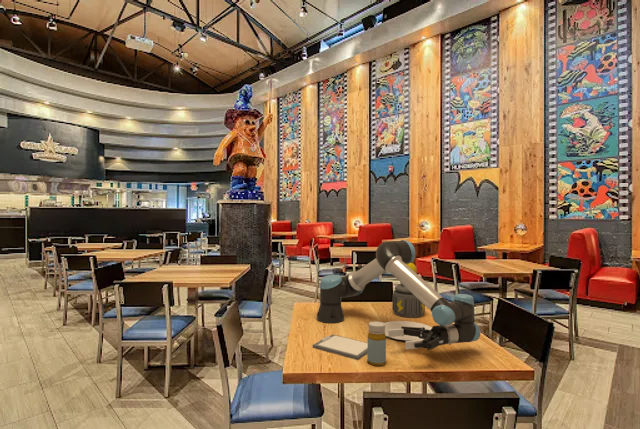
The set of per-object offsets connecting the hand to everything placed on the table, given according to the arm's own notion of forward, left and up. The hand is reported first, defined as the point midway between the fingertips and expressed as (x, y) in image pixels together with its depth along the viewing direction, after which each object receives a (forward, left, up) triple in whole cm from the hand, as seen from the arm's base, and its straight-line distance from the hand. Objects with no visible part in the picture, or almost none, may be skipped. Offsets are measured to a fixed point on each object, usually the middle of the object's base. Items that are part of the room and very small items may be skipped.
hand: (396, 339), depth 135 cm
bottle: (-6, -6, -9) cm, 12 cm away
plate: (-9, +35, -9) cm, 37 cm away
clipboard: (-24, 0, -8) cm, 25 cm away
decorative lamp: (-20, +67, -9) cm, 70 cm away
